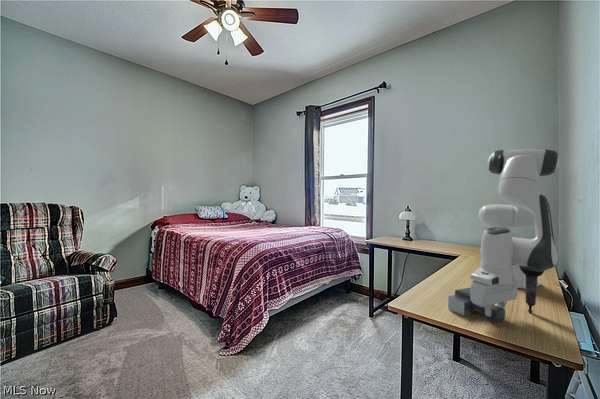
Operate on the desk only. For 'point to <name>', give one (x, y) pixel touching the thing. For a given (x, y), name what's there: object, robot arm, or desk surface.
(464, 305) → the block
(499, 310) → the plug
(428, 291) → the desk surface
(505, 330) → the desk surface
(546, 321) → the desk surface
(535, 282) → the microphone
